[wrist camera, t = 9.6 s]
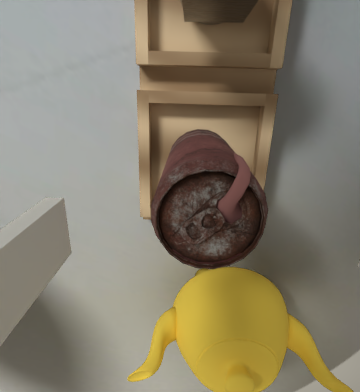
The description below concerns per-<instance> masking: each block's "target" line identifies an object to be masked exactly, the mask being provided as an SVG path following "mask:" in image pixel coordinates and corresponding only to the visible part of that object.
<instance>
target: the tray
mask: <svg viewBox="0 0 360 392" xmlns="http://www.w3.org/2000/svg"><path fill="white" fill-rule="evenodd" d="M134 3H135V39H136V64H137V65H139V66H140V90H137V110H138V145H139V181H140V217H143V219H151V203H152V200H153V198H154V195H155V192H156V189H157V187H158V184H159V181H160V178H161V175H162V173H163V170H164V167H165V164H166V162H167V159H168V156H169V153H170V151H171V148H172V145H173V144H174V143H175V142H176V140H177V139H178V138H179V137H180V136H182V135H183V134H185V133H186V132H189V131H192V130H196V129H203V130H210V131H212V132H215V133H217V134H218V135H219V136H221V137H222V138H223V139H224V140H225V141H226V142H227V143H228V145H229V146H230V147H231V148H232V149H233V151H234V152H235V153H236V154H238V155H240V156H241V157H243V158H244V160H245V162H246V163H247V165H248V166H249V168H250V171H251V173H252V174H253V175H254V176H255V177H256V179H257V181H258V182H259V184H260V186H261V187H262V189H263V191H264V186H265V179H266V173H267V166H268V159H269V153H270V146H271V139H272V133H273V126H274V119H275V113H276V106H277V99H278V94H273V92H274V85H275V78H276V71H277V69H280V68H282V66H283V60H284V53H285V46H286V40H287V33H288V26H289V20H290V13H291V6H292V0H258V2H257V3H256V5H255V6H254V8H253V9H252V11H251V12H250V13H249V15H248V16H247V18H246V19H245V21H244V22H243V23H225V22H223V23H221V24H217V25H205V24H201V23H199V22H184V14H183V6H182V4H181V2H180V0H134Z"/></svg>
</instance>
